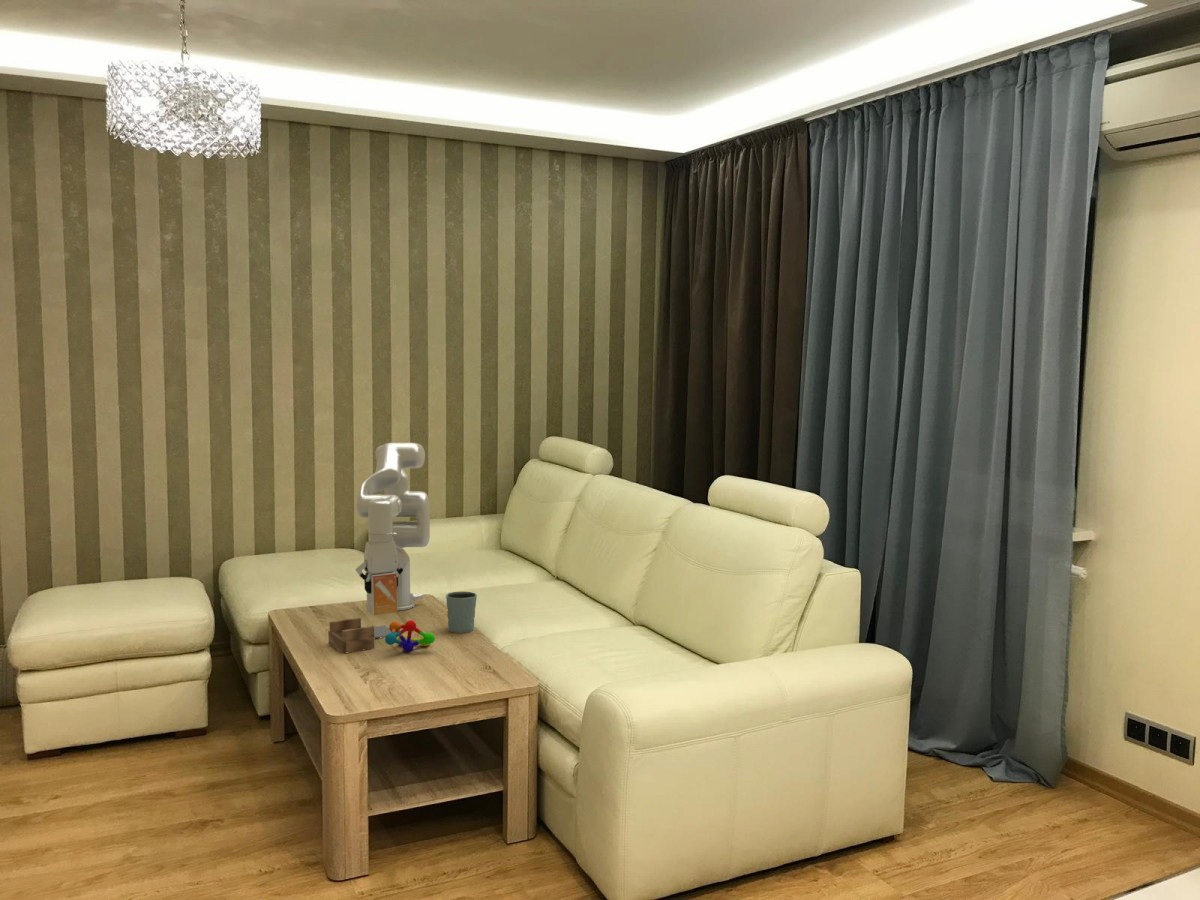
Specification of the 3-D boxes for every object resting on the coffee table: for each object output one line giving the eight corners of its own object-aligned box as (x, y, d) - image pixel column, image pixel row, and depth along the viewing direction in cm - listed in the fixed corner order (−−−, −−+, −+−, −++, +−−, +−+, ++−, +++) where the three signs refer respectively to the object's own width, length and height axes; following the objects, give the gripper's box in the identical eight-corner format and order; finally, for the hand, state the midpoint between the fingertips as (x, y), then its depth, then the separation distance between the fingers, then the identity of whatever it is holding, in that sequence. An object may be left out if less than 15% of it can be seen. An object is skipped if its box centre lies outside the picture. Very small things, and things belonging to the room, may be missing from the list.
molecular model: (387, 656, 327) (384, 648, 313) (388, 626, 330) (385, 617, 316) (435, 655, 329) (434, 647, 315) (436, 625, 332) (434, 616, 318)
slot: (359, 638, 334) (359, 617, 334) (374, 648, 324) (374, 626, 323) (328, 643, 329) (328, 621, 328) (342, 653, 318) (342, 631, 317)
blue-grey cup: (440, 630, 344) (440, 595, 343) (458, 623, 353) (458, 589, 352) (465, 635, 340) (465, 599, 338) (482, 627, 348) (482, 593, 347)
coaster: (384, 626, 348) (384, 625, 348) (398, 635, 338) (398, 633, 338) (350, 632, 341) (350, 630, 341) (363, 641, 331) (363, 639, 331)
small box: (374, 616, 327) (372, 576, 325) (367, 612, 332) (365, 572, 331) (398, 612, 331) (396, 572, 330) (390, 608, 336) (389, 569, 335)
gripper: (401, 532, 336) (402, 584, 339) (350, 538, 327) (351, 591, 329) (410, 536, 330) (411, 589, 333) (358, 543, 320) (359, 597, 323)
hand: (381, 590), depth 331 cm, fingers closed on small box, 8 cm apart
